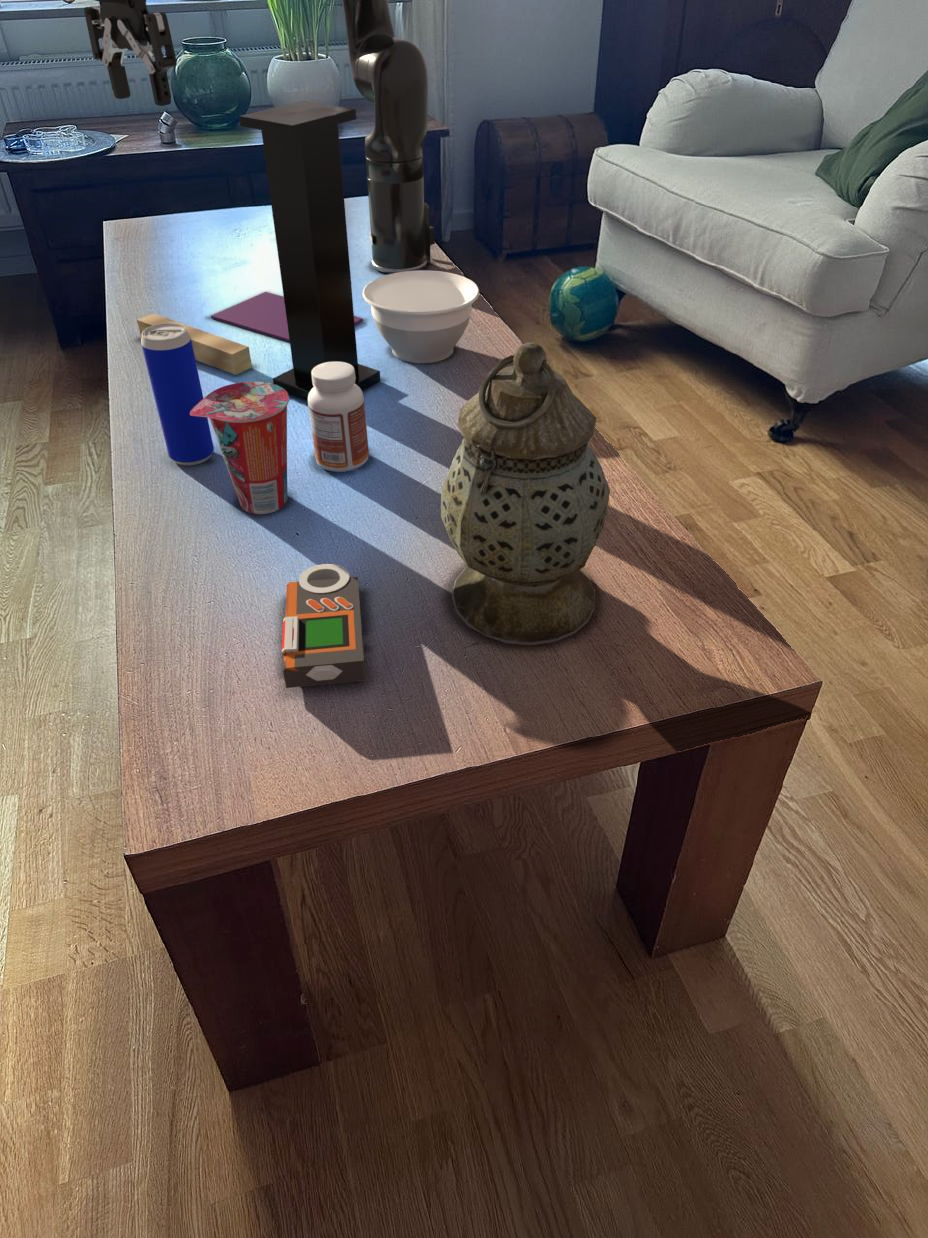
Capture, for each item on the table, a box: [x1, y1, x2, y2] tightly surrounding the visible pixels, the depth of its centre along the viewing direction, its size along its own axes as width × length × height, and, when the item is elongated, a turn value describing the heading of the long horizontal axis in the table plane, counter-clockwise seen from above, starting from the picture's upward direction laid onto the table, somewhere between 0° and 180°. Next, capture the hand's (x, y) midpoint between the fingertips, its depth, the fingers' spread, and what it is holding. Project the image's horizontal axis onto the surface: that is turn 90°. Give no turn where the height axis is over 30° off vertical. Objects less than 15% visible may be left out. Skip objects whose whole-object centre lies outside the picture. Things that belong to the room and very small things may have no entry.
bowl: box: [362, 269, 480, 364], centre depth 123 cm, size 16×16×8 cm
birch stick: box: [136, 312, 253, 376], centre depth 124 cm, size 20×3×3 cm, turn 54°
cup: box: [190, 381, 290, 515], centre depth 92 cm, size 9×8×12 cm
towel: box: [210, 291, 364, 343], centre depth 134 cm, size 12×20×1 cm, turn 56°
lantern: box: [440, 341, 611, 646], centre depth 75 cm, size 14×14×25 cm
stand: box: [238, 100, 381, 402], centre depth 107 cm, size 10×10×32 cm
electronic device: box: [281, 563, 367, 689], centre depth 78 cm, size 7×3×15 cm
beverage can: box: [140, 323, 215, 466], centre depth 98 cm, size 5×5×15 cm
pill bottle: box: [307, 362, 370, 473], centre depth 99 cm, size 6×6×11 cm
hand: (142, 101), depth 121 cm, fingers open, 8 cm apart
